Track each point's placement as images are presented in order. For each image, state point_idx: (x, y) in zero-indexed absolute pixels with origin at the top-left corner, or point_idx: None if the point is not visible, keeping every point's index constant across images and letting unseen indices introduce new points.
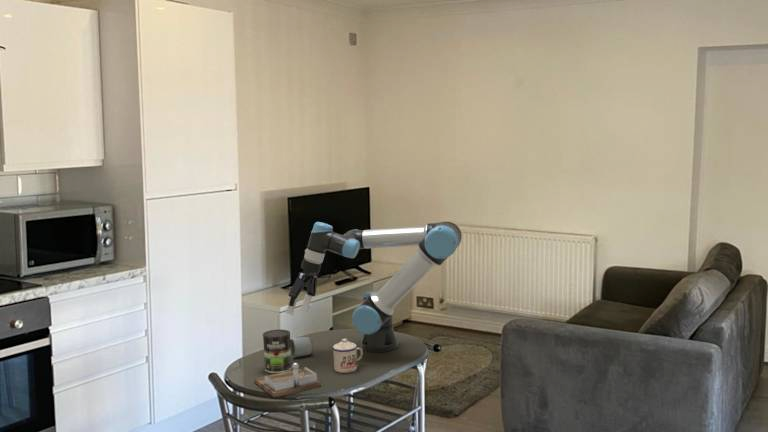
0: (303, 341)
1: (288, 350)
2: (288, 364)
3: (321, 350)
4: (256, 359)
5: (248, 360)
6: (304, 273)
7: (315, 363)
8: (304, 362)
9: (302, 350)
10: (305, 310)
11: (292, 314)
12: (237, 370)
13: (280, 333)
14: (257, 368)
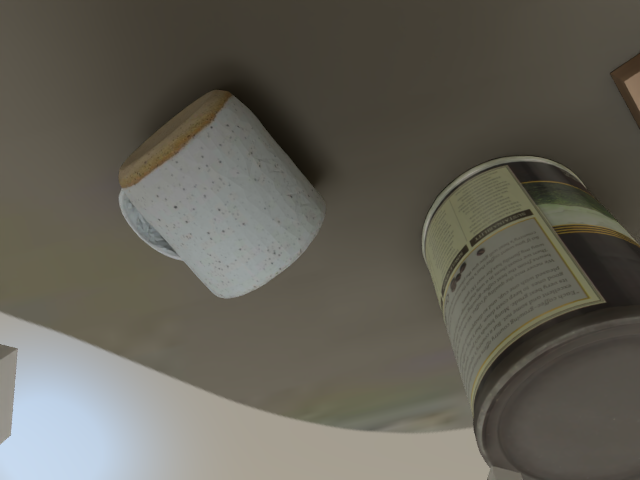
0: (250, 187)
1: (609, 231)
2: (570, 181)
3: (79, 41)
4: (326, 377)
5: (344, 404)
6: None
7: (407, 6)
8: (381, 101)
9: (291, 160)
10: (8, 376)
11: (507, 474)
12: None
13: (615, 390)
14: None
